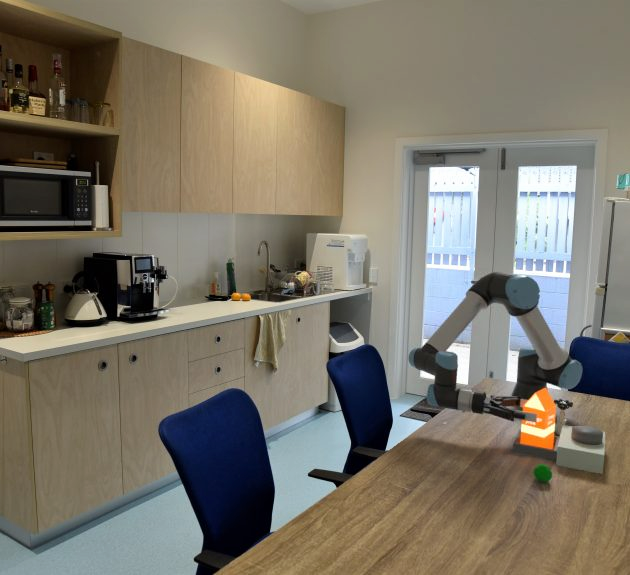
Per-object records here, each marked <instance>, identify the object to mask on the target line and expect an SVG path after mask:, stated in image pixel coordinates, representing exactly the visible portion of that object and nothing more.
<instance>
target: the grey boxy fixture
mask: <svg viewBox="0 0 630 575" xmlns="http://www.w3.org/2000/svg"><path fill="white" fill-rule="evenodd" d="M520 441H521V429H518V432H517V434H516V437H515V438H514V441H513V443H512V453H515V454H519V455H525V456H528V457H529V456H531V457H534V458H541V459H546V460H551V461H554V462H555V461H556V462H555V465H556V466H558V467H564V468H569V469H573V470H578V471H583V470H584V472H588V473H589V472H591V473H594V472H595V473H594V474H599V473H600V474H599V475H604V464H605V463H604V462H605V453H606V452H605V451H606V450H605V449H606V448H605V447H606V431H603V430H602V429H599V428H596V427H594V426H588V425H574V426H573V425H567V424H565V425H562V430H561V434H560V435H558V436H557V435H554V441H553V449H548V448H543V447H537V446H532V445H526V444H521V443H520Z"/></svg>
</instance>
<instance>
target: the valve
mask: <svg viewBox="0 0 630 575" xmlns="http://www.w3.org/2000/svg"><path fill="white" fill-rule="evenodd" d="M553 402H554V403H555V405H556V407H557V408H558V409H559V410H560V411H559V412H558V413H559V414H558V415H559V416H558V417H557V419H556V421H555V430H554V433H556V434H557V435H558V436H560V434H561V430H562V425H566V423H567V419H566V418H565V417H566V412H565V411H566V410H569V409H570V408H573V406H574V402H572V401H570V400H567V399H566V400H564V399H561V398H560V399H553Z"/></svg>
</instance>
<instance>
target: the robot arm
mask: <svg viewBox="0 0 630 575" xmlns="http://www.w3.org/2000/svg"><path fill="white" fill-rule="evenodd" d="M540 289H541V288H540V286H539V284H538V282H537V281H536V280H535V279H534V278H532V277H531V276H528V275H525V274H518V273H517V274H516V273H515V274H514V273H507V272H502V271H493V272H489V273H488V274H485V275H484V276H483V277H481V278H479V279H478V280H477V281H476V282H474V283H473V285H471V286H470V288H469V289H467V291H466V292H465V297H464V298H463V299H462V301H461V302H460V303H459V304H458V305H457V306H456V307H455V309H454V310H453V311H452V312H451V313H450V314H449V316H447V318H446V319H445V320H444V321H443V322H442V323H441V325H440V326H439V327H438V328H437V329H436V330H435V331H434V333H433V334H432V335H431V337H429V338H428V340H426V342H425V343H424V344H423V345H422V346H421V347H415V348H413V349H411V350H410V352H409V354H408V359H407V360H408V363H409V364H410V366H411V367H413V368H415V369H417V370H418V371H422V372H424V373H427V374H429V375H431V376H433V377H434V383H432V384H431V383H430V384H429V385H428V387H427V393H426V401H427V402H426V403H427V404H428V405H430V406H432V407H436V408H437V407H438V408H442V409H449V410H456V411H460V412H462V413H466V412H469V413H470V412H472V413H473V414H480V415H483V414H488V415H491V416H495V417H498V418H501V419H503V420H507V421H510V422H515V420H519V421H522V420H525V421H531V422H536V420H537V413H531V412H525V411H523V410H519V409H515V410H513V409H510V407H520V408H523V406H524V405H525V403H526V402H527V401H528V400H529V399H530V398H531V397H532V396H533V395H534V394H535V393H536V392H538V391H540V390H542V389H544V388H546V389H547V391H548V392H549V390H548V385H549V384H550V385H552V386H554V387H557V388H559V389H565V390H571V389H573V388H575V387H576V386H577V385H578V384H579V383H580V381H581V379H582V375H583V366H582V363H581V362H579V361H578V360H577V359H573V358H571V356H570V354H569V353H568V351H567V350H566V349H565V348H563V347H561V346H560V345H559V343H558V341H557V339H556V337H555V336H554V334H553V332H552V330H551V329H550V327H549V325H548V323H547V321H546V319H545V318H544V315H543V314H542V312H541V311H540V309H539V306H538V305H539V303H540V302H539V301H540V297H541V294H540V292H541V290H540ZM492 304H499V305H503V306H504V308H505V310H506V312H507V313H508V314H509V316H511V317H515V319H516V320H517V322H518V323H519V326H521V329H522V330H523V332H524V334H525V336H526V338H527V340H528V341H529V342H530V344H531V346H525V347H521V348H520V349H519V351H518V356H517V370H516V372H517V374H516V383H515V386H514V388H513V390H512V392H511V395H492V394H491V395H490V397H487V393H486V392H485V391H480V390H475V391H474V390H473V389H467V388H462V387H461V388H459V387H457V378H458V368H459V363H458V362H459V360H458V359H459V358H458V354H457V353H455V352H454V351H448V349H449V348H450V347H452V345H453V344H454V342H456V340H458V338H459V337H460V336H461V334H462V333H463V332H464V331H465V330H466V329H467V328H468V327H469V325H470V324H471V323H472V322H473V321H474V319H475V318H477V316H478V314H479V313H481V311H482V310H487V309H488V308H489V306H490V305H492ZM547 384H548V385H547Z"/></svg>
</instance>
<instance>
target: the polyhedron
mask: <svg viewBox="0 0 630 575" xmlns="http://www.w3.org/2000/svg"><path fill="white" fill-rule="evenodd" d="M532 474H533V476H534V478H535V480H537V481H539V482H541V483H548V482H549V481H550V480H551V479H552V476H553V472H552V470H551V468H550V467H549V466H548V465H546V464H545V463H543V464H542V463H541V464H537V465H536V466H535V467H534V469H533V473H532Z"/></svg>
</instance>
